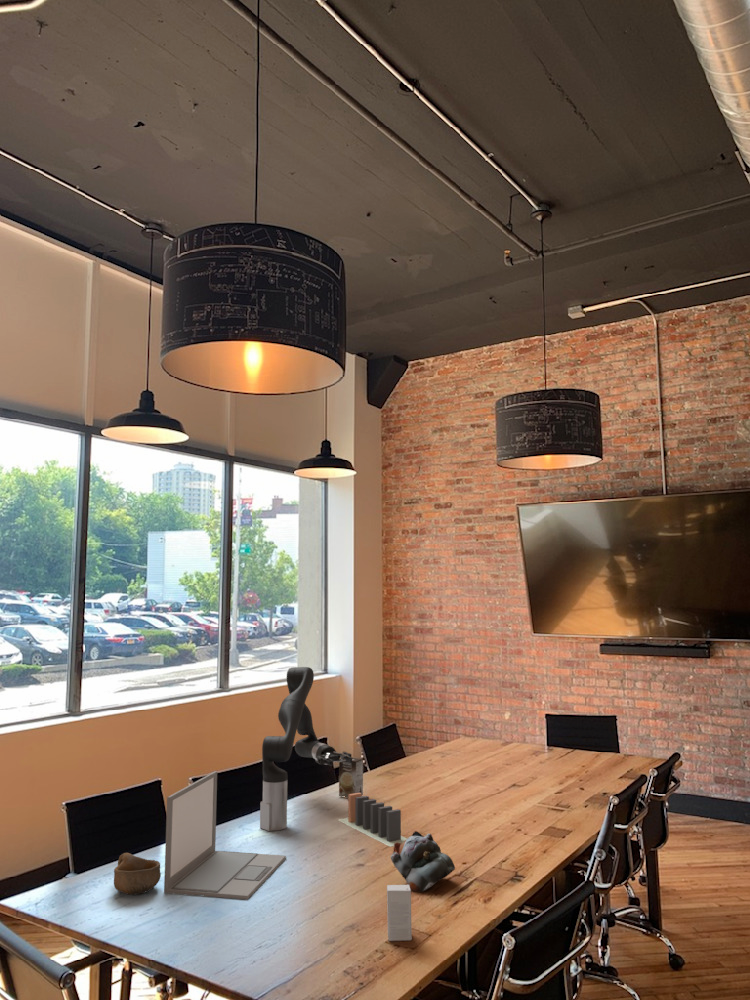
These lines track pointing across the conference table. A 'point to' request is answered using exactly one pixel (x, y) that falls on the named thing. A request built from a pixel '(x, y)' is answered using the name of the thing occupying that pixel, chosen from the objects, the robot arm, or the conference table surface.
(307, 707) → the robot arm
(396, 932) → the skincare box
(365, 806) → the domino
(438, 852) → the lucky cat figurine
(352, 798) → the domino
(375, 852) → the conference table surface
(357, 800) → the domino
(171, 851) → the laptop
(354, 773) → the coffee box
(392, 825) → the domino
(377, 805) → the domino
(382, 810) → the domino
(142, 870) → the bowl
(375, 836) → the strip
